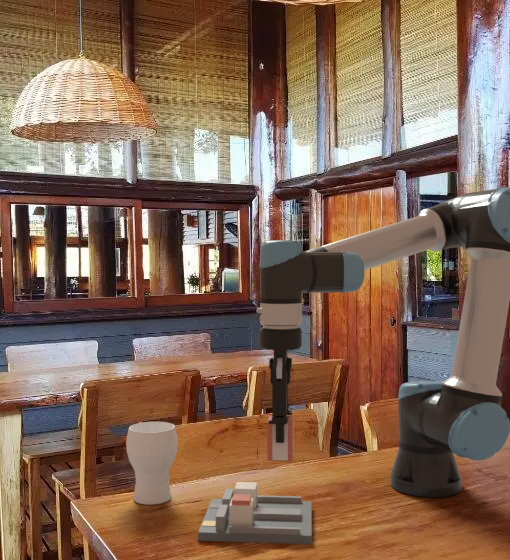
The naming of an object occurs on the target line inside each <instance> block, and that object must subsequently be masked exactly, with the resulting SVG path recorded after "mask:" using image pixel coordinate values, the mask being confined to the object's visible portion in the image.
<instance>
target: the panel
mask: <svg viewBox="0 0 510 560" xmlns="http://www.w3.org/2000/svg"><path fill="white" fill-rule="evenodd" d="M234 494H235V491H234V488H225V490H224V493H223V496H222V498H211V500H210V502H209V505H208V508H207V510H206V511H205V515H204V517H203V519H202V522H201V524H200V527H199V529H198V531H197V540H198V541H199V542H227V543H229V542H231V543H256V544H257V543H258V544H259V543H263V544H288V545H289V544H293V545H294V544H295V545H297V544H298V545H312V544H313V543H312V541H313V540H312V539H313V538H312V534H313V533H312V530H313V529H312V528H313V527H312V524H313V523H312V500H309V501H308V500H302V496H295V495H294V496H293V495H258V494H257V505H256V508H253V524H252V526H232V525H230V526H229V505H230V502H231V499H232V498H233V495H234Z"/></svg>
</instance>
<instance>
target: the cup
mask: <svg viewBox="0 0 510 560" xmlns="http://www.w3.org/2000/svg"><path fill="white" fill-rule="evenodd" d="M127 431H128V432H127V435H126V439H125V441H126V443H125V444H126V453H127V457H128V460H129V463H130V465H131V466H132V468H133V471H134V475H135V486H134V492H133V494H134V495H133V501H134V502H135V503H137V504H141V505H150V506H151V505H160V504H163V503H166V502H169V501H170V500H171V498H172V492H171V487H170V482H169V481H170V480H169V479H170V472H171V468H172V466H173V463H174V462H175V459H176V456H177V453H178V452H177V451H178V447H179V445H178V444H179V437H178V434H177V430H176V425H175V424H174V423H170V422H166V421H146V422H143V421H142V422H138V423H135V424H131V425H130V426H129V428H128V429H127Z"/></svg>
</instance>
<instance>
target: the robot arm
mask: <svg viewBox="0 0 510 560" xmlns="http://www.w3.org/2000/svg"><path fill="white" fill-rule="evenodd" d="M302 246H303V245H302V243H301V241H299V240H265V241H264V242H263V243H262V244H261V246H260V252H259V264H258V268H259V304H260V305H259V307H258V308H256V313H257V314H260V315H259V323H260V325H262V327H261V328H259V346H260V348H261V349H262V350H265V351H266V350H267V351H270V350H271V351H273V357H269V362H268V363H269V365H268V366H269V369H270V384H271V385H272V386H271V387H272V389H271V390H272V391H271V394H272V397H271V398H272V400H271V402H272V403H271V404H272V406H271V407H272V409H271V410H272V411H271V413H272V415H271V416H272V420H269V424H272V460H283V461H282V462H289V461H288V423H287V422H288V419H287V416H293V410H289V408H290V404H289V385H290V384H291V379H292V378H291V372H292V371H291V370H292V368H293V367H292V366H293V365H292V364H293V361H292V360H293V359H292V357H289V356H288V351H297V350H299V349H301V347H302V346H303V345H302V344H303V342H302V341H303V340H302V338H303V336H302V335H303V334H302V333H303V332H302V331H303V330H302V329H301V327H299V326H300V325H302V324H303V300H302V296H303V294H309V293H312V294H313V293H317V294H319V293H320V294H323V293H324V294H326V293H327V294H328V293H329V294H331V293H335V294H336V293H341V294H345V293H354V292H357V291H359V290H360V288H362V286H363V284H364V281H365V271H367V270H371V269H373V268H376V267H380V266H381V265H386V264H388V263H391V262H394V261H398V260H401V259H403V258H406V257H410V256H412V255H416V254H419V253H423V252H425V251H428V250H429V251H431V252H434V253H435V252H439V251H443V250H446V249H452V248H464V252H465V253H466V255H467V256H468V257H469V260H470V263H469V270H468V276H467V281H466V288H465V294H464V297H463V298H464V299H463V305H462V309H461V316H460V322H459V328H458V334H457V339H456V346H455V353H454V359H453V363H452V364H453V365H452V371H451V375H450V376H449V377H448V378H447V379H445V380H419V381H410V382H409V381H408V382H404V383H402V384H401V385H400V387H399V388H398V389H399V390H398V398H397V402H398V448H397V449H398V450H397V452H396V457H395V459H394V462H393V465H392V468H391V471H390V474H389V475H390V476H389V477H390V482H389V483H390V486H391V488H393V489H394V490H396V491H397V492H398V491H399V492H401V493H403V494H407V495H409V496H416V497H421V498H444V497H445V498H446V497H451V495H452V496H454V494H455V495H457V494H459V493H460V492H462V488H463V487H462V481H463V480H462V476H461V473H460V469H459V466H458V464H457V460H456V456H458V457H460V458H465V459H469V460H471V461H483V460H484V461H485V460H487V459H490V458H492V457H494V455H495V454H497V453H499V452H500V451H501V450H502V448H504V446H505V444H506V443H507V441H508V438H509V436H510V417H509V416H507V411H505V409H504V408H503V407H502V406H501V404H502V400H503V393H502V392H501V391H500V389H499V387H498V386H497V379H498V374H499V373H498V372H499V369H500V367H499V366H500V360H501V355H502V349H503V342H504V336H505V330H506V325H507V319H508V312H509V306H510V187H504V186H501V187H497V188H495V189H494V188H493V189H487V190H480V191H474V192H473V191H472V192H467V193H464V194H461V195H459V196H455V197H454V198H451V199H448V200H446V201H443V202H441V203H438V204H436V205H433V206H430V207H427V208H424V209H422V210H421V211H420V212H418V215H417V216H414V217H410V218H407V219H404V220H401V221H398V222H395V223H391V224H388V225H385V226H382V227H379V228H375V229H373V230H369V231H366V232H361V233H359V234H356V235H352V236H350V237H346V238H344V239H340V240H336V241H334V242H331V243H328V244H324V245H321V246H319V247H315V248H311V249H309V250H305V251H304V249H303V247H302ZM455 455H456V456H455Z"/></svg>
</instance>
